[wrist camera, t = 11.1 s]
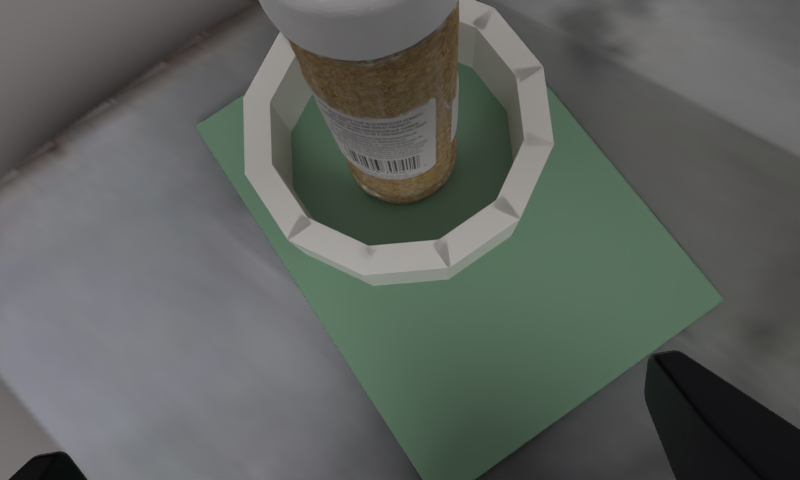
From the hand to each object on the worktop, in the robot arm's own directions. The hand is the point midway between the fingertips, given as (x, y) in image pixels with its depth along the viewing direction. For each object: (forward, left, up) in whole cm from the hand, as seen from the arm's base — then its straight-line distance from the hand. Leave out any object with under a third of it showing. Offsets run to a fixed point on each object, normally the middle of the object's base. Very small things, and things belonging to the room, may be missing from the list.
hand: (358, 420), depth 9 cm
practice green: (+5, -5, -14) cm, 15 cm away
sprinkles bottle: (+8, -5, -13) cm, 16 cm away
